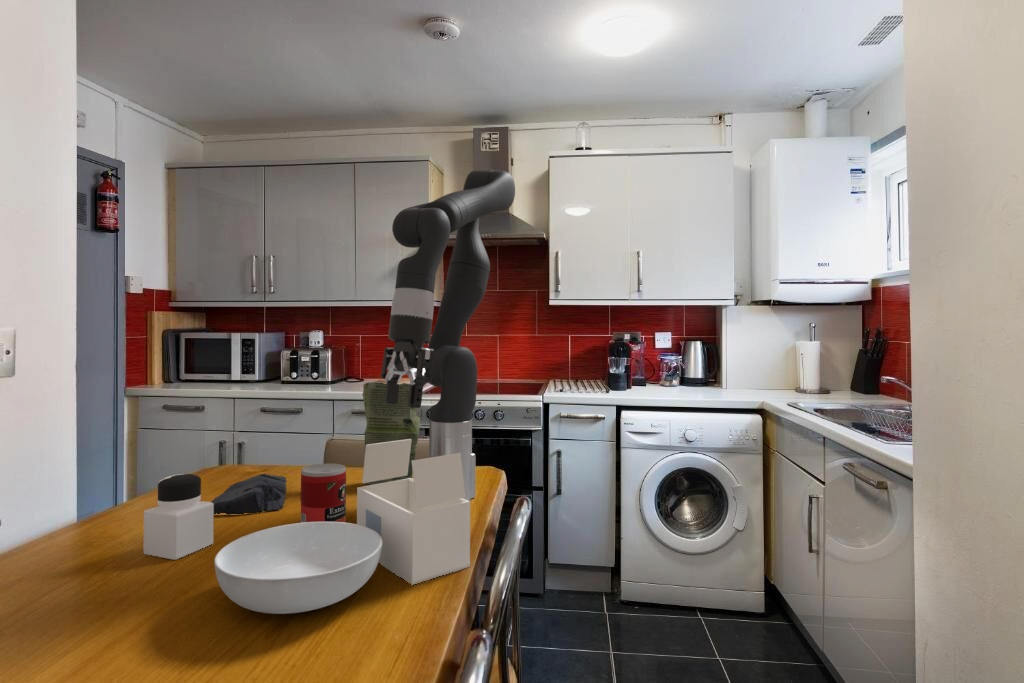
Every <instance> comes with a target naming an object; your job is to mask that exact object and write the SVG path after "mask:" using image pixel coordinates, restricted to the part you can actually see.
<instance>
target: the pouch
mask: <svg viewBox="0 0 1024 683" xmlns="http://www.w3.org/2000/svg"><path fill="white" fill-rule="evenodd" d="M398 384H399V392H398V401H397V403H396V404H387V403H385V396H386V387H387V383H386V382H385V383H384V382H380V381H369V382H366V383H364V384H363V391H362V400H363V404H364V405H363V406H364V412H365V420H366V427H365V431H364V432H363V434H364V450H365V449H366V445H368V444H375V443H383V442H390V441H398V440H406V439H412V441H411V450H410V458H409V467H408V475H407V476H401V477H396V478H390V479H385V480H379V481H374V482H368V483H365V484H366V485H365V486H369V485H375V484H380V483H386V482H391V481H396V480H402V479H407V478H412V479H413V470H412V460H416V452H417V450H416V449H417V445H418V441H419V432H420V428H421V418H420V417H419V416H417V411H416V410H417V409H418V408H411V407H409V406H408V399H409V389H410V386H413V385H411V384H410V383H407V382H403V383H398Z"/></svg>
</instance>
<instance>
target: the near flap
mask: <svg viewBox="0 0 1024 683" xmlns="http://www.w3.org/2000/svg"><path fill="white" fill-rule="evenodd" d="M412 470H413V475H412V479H413V480H414V490H415V500H416V508H422V507H426V506H431V505H435V504H439V503H444V502H448V501H452V500H457V499H461V498H465V497H466V496H465V487H464V479H463V470H462V461H461V453H456V454H450V455H443V456H437V457H431V458H429V457H425V458H420V459H415V460H412Z"/></svg>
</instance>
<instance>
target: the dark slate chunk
mask: <svg viewBox="0 0 1024 683" xmlns="http://www.w3.org/2000/svg"><path fill="white" fill-rule="evenodd" d="M286 493H287V477H286V476H284V475H275V474H274V475H272V474H268V473H261V474H258V475H254V476H252V477H249V478H246V479H244V480H240V481H238V482H235V483H234V484H231V485H230V486H229V487H227V488H226V490H224V491H223V492H222V493H221V494H218V496H216V497H215V498H213V499H212V500H211V501H210V502H211V503H213V504H214V514H216V513H217V514H220V513H226V514H244V513H257V512H262V513H264V512H263V511H270V512H272V511H271V510H277V511H280V510H279V509H281V510H282V509H283V508H284V504H285V500H286Z"/></svg>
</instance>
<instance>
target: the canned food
mask: <svg viewBox="0 0 1024 683" xmlns="http://www.w3.org/2000/svg"><path fill="white" fill-rule="evenodd" d="M346 468H347V467H346V465H343V464H339V463H317V464H315V463H314V464H311V465H307V466H305V467H302V468H301V472H300V523H303V522H345V523H347V522H346V521H347V520H346V518H347V516H346V515H347V513H346V512H347V469H346Z"/></svg>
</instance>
